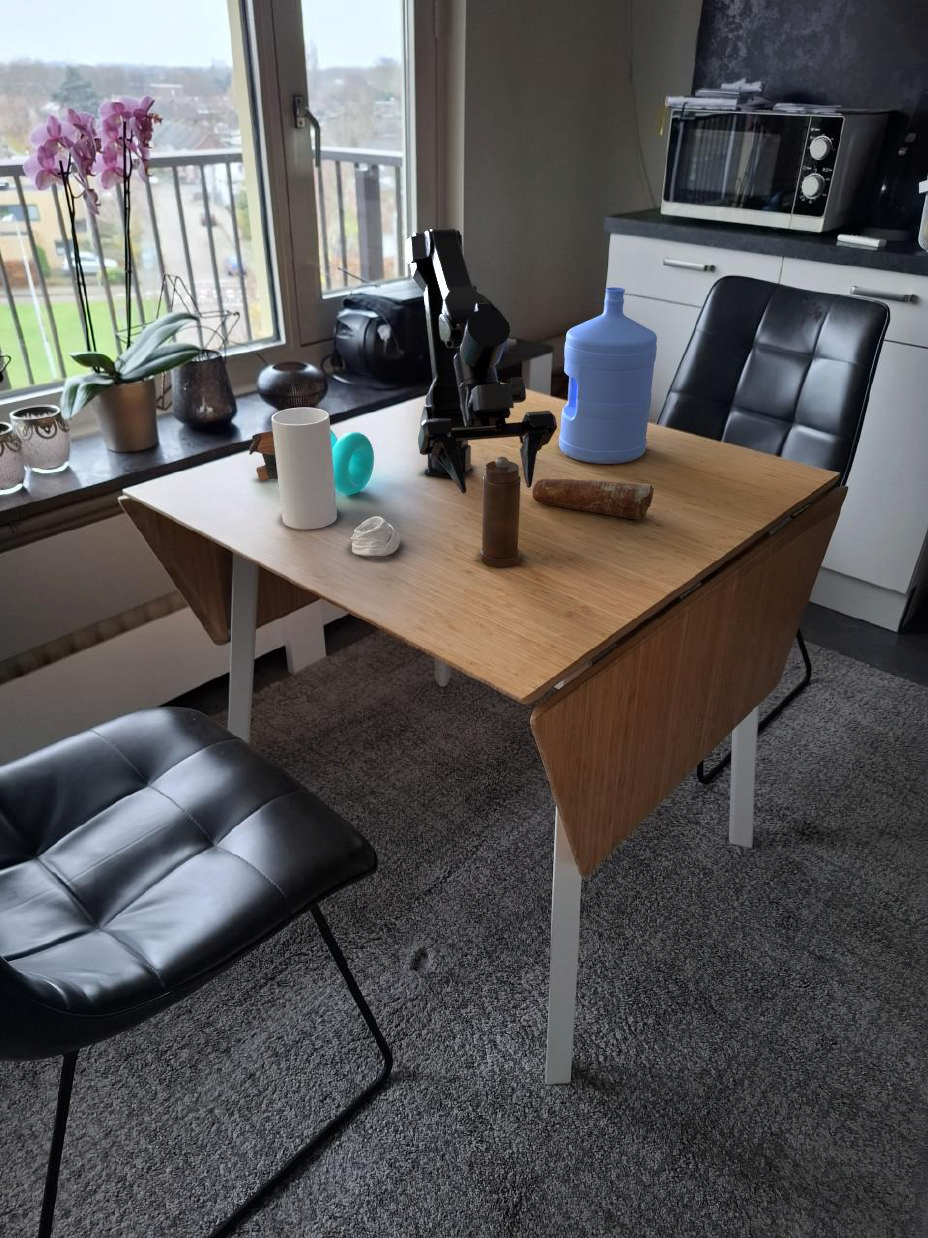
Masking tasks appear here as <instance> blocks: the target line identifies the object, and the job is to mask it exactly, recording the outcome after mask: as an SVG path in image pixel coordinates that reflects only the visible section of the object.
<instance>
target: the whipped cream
mask: <svg viewBox="0 0 928 1238" xmlns="http://www.w3.org/2000/svg"><path fill="white" fill-rule="evenodd" d="M353 531H354V533H353V534H352V536H350V539H351V541H352V542H351V546H352V547H351V553H353V554H354V555H356V556H364V557H371V556H377V557H383V556H387V555H388V556H389V555H392V554H393V553H395V552H396V551H397V550H398V548H399V546H400V536H399V534H398V531H397V530H396V529H395V528H394V526H393V525H392V524H391V523H387V520H385V518H383V517H381V516H372V517H369V518H368V519H366V520H364V521H363V522H361V524H359V526H357V527H356V528H354V529H353Z"/></svg>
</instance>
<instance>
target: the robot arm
mask: <svg viewBox="0 0 928 1238" xmlns="http://www.w3.org/2000/svg"><path fill="white" fill-rule="evenodd" d="M463 248H464V247H463V235H462V234H461V232H460V230H459V229H456V228H449V227H448V228H431V229H430V230H426V231H425V232H413V234H412V235H411V236H410V237H409V238H408V239H406V242H405V256H406V262H407V264H408V265H410V270H411V276H412V279H413V280H414V281H415V283H416V284H417V286H418V287H419V288H420V290H421V291H422V293H423V299H424V309H425V318H426V319H425V320H426V327H427V328H426V329H427V336H428V346H429V357H430V364H431V365H430V366H431V376H432V383H431V385H430V387H429V389H428V392H427V394H426V397H425V405H424V406H423V409H422V413H421V417H420V421H419V425H420V426H419V432H418V437H417V444H418V450H419V454H420V455H422V456H427V468H426V469H424V471H423V474H424V475H427V476H433V477H438V478H445V479H452V480H453V482H454V483H455V485H456V487H457V488H458V489H459V491H460V493H461V494H466V493H467V484H466V479H465V474H466V473H467V472H469V470H470V469H472V467H473V465H472V452H471V451H472V446H471V445H470V444H469V441H480V440H491V439H503V438H504V439H505V438H517V437H518V438H519V442H520V444H522V445H521V447H520V449H519V453H520V454H519V455H520V458H521V460H520V461H521V465H522V471H523V478H524V482H525V486H526V487H527V489H531V487H532V485H533V479H534V474H535V466H536V460H537V455H538V452H540V451H541V450H542V448H543V446H546V445H549V443H550V441H551V439H552V438H553V436H554V434H555V433H556V430H557V428H558V422H557V419H556V416H555V414H553V412H552V411H550V410H539V411H525V414H524V416H523V418H522V421H517V422H516V421H515V422H507V421H506V419H509V418H510V416H511V414H512V413H511V409H514V408H515V405H514V404H521V403H523V402H525V401H526V400H527V392H526V385H525V380H524V377H523V376H518V377H510V378H509V379H507V381H506V382H503V383H502V382H501V381H499V380H498V373H497V368H496V365H497V364H499V363H500V361H501V358H502V355H503V353H504V350H505V347H506V345H507V342H508V339H509V337H510V334H511V326H510V323H509V321H508V320H507V319H506V318H505V316H504V315H503V314H501V313H500V312H499V311H497V310H494V309H492V303H491V302H488V301H487V299H486V297H485V296H484V295H483V294H481V293H479V292H478V291H476V290H475V289H474V286H473V283H472V280H471V277H470V273H469V269H468V266H467V264H466V260H465V257H464V249H463ZM458 348H459V350H458Z"/></svg>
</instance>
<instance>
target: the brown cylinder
mask: <svg viewBox="0 0 928 1238" xmlns="http://www.w3.org/2000/svg"><path fill="white" fill-rule="evenodd" d="M654 491H655V489H654V487H653V485H652V484H648V483H641V482H640V483H639V482H627V481H612V480H610V481H609V480H596V479H572V478H540V479H538V480H537V481H536V482H535V483H534V485H533V487H532V494H531V497H532V499H533V500H534V502H536V503H539V504H547V505H553V506H557V507H561V508H565V509H570V510H572V509H573V510H576V511H585V512H591V513H592V512H593V513H597V514H603V515H608V516H614V517H618V518H625V519H630V520H644V519H646V517H647V512H648V510H649V508H650V507H651V505H652V501H653V499H654Z"/></svg>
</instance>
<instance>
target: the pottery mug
mask: <svg viewBox="0 0 928 1238" xmlns="http://www.w3.org/2000/svg"><path fill="white" fill-rule="evenodd" d="M251 439H252V443H251V444H250V446H249V448H248V451H249V453H248V454H249V456H250V455H253V453H258V454H261V455H262V459H263V462H264V465H261V466H258V467H256V468H255V469H256V474H257V477H258V481H267V480H278V473H277V464H276V455H275V446H274V438H273V430H271V431H264V432H258V433H255V434H253V435H252V436H251Z"/></svg>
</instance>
